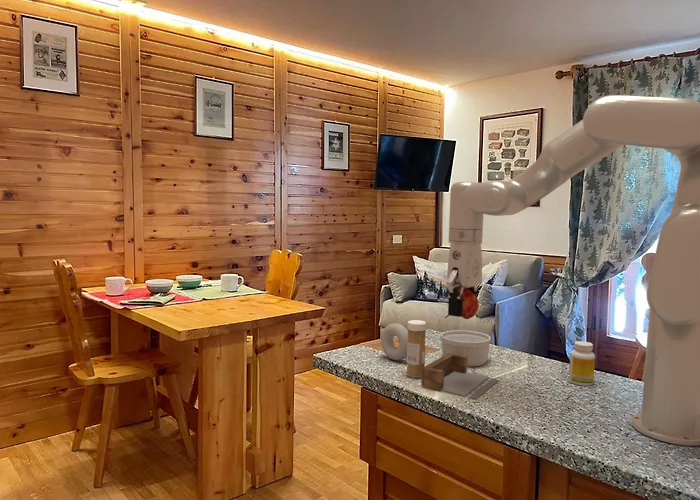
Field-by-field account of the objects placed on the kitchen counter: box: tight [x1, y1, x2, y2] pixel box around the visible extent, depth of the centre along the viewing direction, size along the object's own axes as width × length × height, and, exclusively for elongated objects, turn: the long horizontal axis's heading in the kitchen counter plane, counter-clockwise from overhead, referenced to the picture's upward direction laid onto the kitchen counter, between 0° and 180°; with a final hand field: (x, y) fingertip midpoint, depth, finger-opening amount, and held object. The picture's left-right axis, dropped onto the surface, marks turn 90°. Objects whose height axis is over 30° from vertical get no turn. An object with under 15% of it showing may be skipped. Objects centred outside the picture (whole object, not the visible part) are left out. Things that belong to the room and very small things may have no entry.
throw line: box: [469, 378, 500, 400], centre depth 118 cm, size 2×15×1 cm, turn 146°
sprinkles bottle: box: [405, 319, 427, 379], centre depth 126 cm, size 5×5×13 cm
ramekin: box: [440, 329, 492, 368], centre depth 139 cm, size 13×13×7 cm
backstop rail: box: [421, 353, 468, 392], centre depth 124 cm, size 5×16×4 cm, turn 146°
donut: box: [380, 322, 408, 362], centre depth 138 cm, size 10×4×10 cm, turn 43°
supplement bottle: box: [568, 340, 596, 387], centre depth 124 cm, size 5×5×10 cm
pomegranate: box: [444, 288, 480, 320], centre depth 120 cm, size 7×7×10 cm
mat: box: [440, 371, 490, 398], centre depth 122 cm, size 8×15×1 cm, turn 146°
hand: (462, 312), depth 120 cm, fingers closed on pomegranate, 7 cm apart
